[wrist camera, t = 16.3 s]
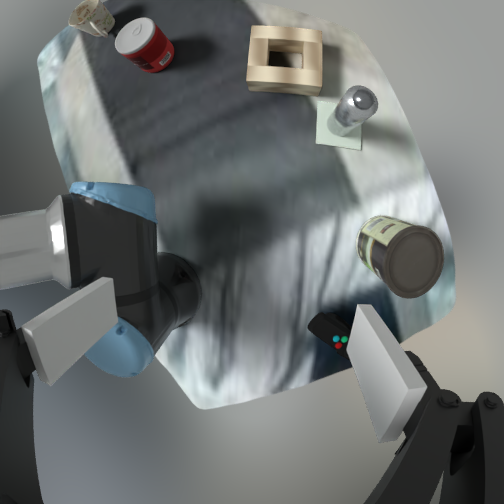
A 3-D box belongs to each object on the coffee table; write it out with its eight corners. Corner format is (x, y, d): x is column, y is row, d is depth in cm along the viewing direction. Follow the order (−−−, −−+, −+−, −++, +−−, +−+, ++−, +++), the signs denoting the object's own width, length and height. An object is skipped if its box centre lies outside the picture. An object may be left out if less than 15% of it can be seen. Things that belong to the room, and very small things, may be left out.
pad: (315, 143, 43) (316, 143, 42) (317, 101, 41) (317, 100, 41) (360, 150, 42) (360, 150, 42) (361, 108, 40) (361, 108, 40)
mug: (112, 9, 37) (92, -8, 28) (130, 30, 39) (109, 10, 29) (87, 31, 39) (65, 17, 29) (102, 54, 41) (77, 39, 31)
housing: (249, 91, 42) (246, 80, 37) (254, 38, 39) (251, 25, 34) (317, 96, 41) (322, 86, 36) (318, 43, 38) (321, 30, 33)
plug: (326, 134, 42) (346, 111, 27) (327, 111, 41) (346, 80, 26) (350, 138, 42) (380, 118, 27) (351, 115, 41) (380, 87, 26)
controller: (346, 343, 51) (357, 372, 41) (301, 311, 50) (306, 339, 40) (360, 328, 50) (375, 355, 40) (316, 294, 49) (324, 319, 39)
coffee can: (386, 279, 47) (419, 309, 33) (345, 253, 47) (369, 278, 33) (414, 233, 45) (455, 250, 31) (373, 204, 44) (409, 211, 31)
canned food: (175, 38, 40) (155, 11, 29) (175, 68, 41) (152, 44, 31) (142, 48, 40) (116, 26, 30) (140, 78, 42) (112, 59, 31)
